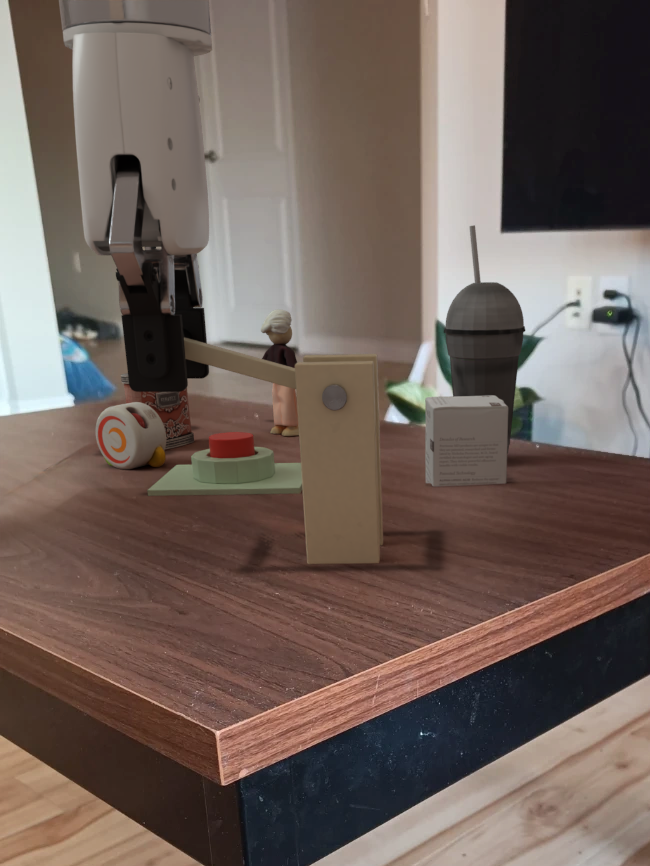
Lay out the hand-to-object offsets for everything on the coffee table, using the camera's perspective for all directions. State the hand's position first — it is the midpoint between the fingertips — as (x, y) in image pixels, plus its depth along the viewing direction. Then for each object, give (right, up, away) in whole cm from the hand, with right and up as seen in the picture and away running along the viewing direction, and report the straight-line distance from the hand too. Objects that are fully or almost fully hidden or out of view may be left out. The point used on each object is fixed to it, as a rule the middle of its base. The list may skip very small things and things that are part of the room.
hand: (171, 380), depth 60 cm
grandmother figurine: (+1, +12, +53) cm, 54 cm away
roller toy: (-12, +4, +37) cm, 39 cm away
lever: (+5, 0, 0) cm, 5 cm away
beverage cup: (+21, +4, +36) cm, 42 cm away
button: (0, +2, +24) cm, 24 cm away
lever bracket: (+10, -11, +5) cm, 15 cm away
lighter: (-12, +9, +47) cm, 49 cm away
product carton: (+19, -1, +24) cm, 31 cm away
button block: (0, -1, +25) cm, 25 cm away
